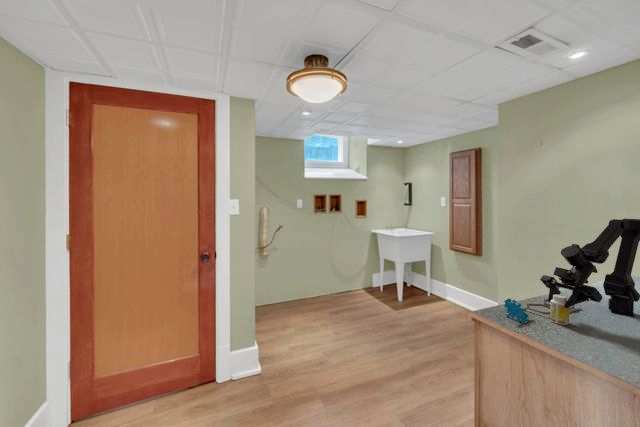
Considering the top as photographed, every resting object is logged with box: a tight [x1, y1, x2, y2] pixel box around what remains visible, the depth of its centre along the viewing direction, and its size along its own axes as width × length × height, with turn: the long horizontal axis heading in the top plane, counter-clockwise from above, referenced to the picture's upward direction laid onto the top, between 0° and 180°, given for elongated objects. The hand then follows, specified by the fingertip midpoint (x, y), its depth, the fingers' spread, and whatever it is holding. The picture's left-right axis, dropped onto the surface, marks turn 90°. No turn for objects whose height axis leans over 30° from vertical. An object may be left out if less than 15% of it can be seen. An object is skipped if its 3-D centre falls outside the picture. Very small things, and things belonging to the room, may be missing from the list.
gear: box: [503, 298, 530, 324], centre depth 112 cm, size 11×6×10 cm
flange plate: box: [520, 299, 581, 319], centre depth 121 cm, size 22×12×2 cm, turn 113°
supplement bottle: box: [549, 294, 570, 326], centre depth 108 cm, size 6×6×10 cm
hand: (556, 304), depth 107 cm, fingers closed on supplement bottle, 5 cm apart
